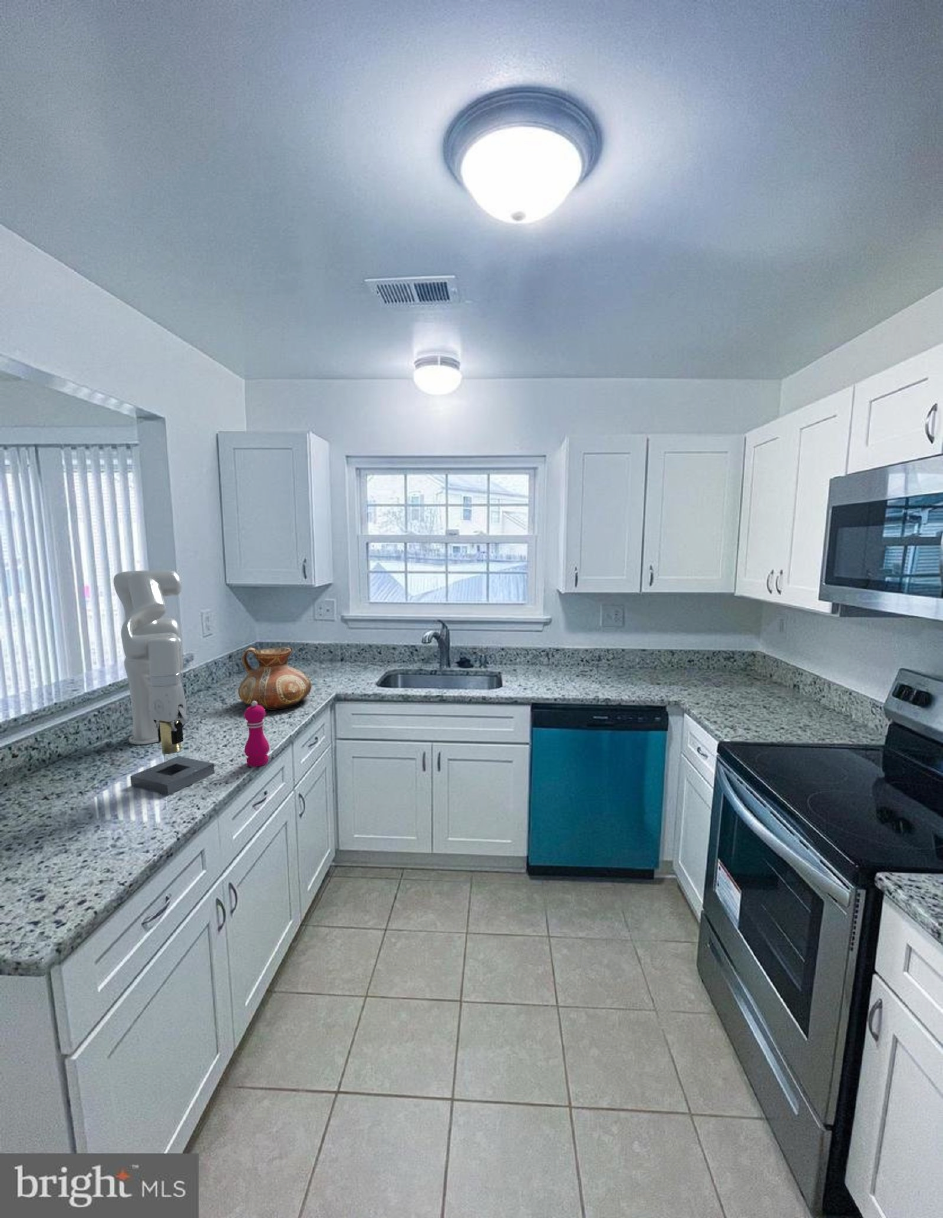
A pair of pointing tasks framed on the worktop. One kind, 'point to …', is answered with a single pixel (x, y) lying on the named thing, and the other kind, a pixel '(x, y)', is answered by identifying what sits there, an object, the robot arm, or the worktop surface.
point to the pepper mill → (256, 736)
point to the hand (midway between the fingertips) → (171, 741)
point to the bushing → (168, 738)
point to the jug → (273, 680)
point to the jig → (166, 784)
